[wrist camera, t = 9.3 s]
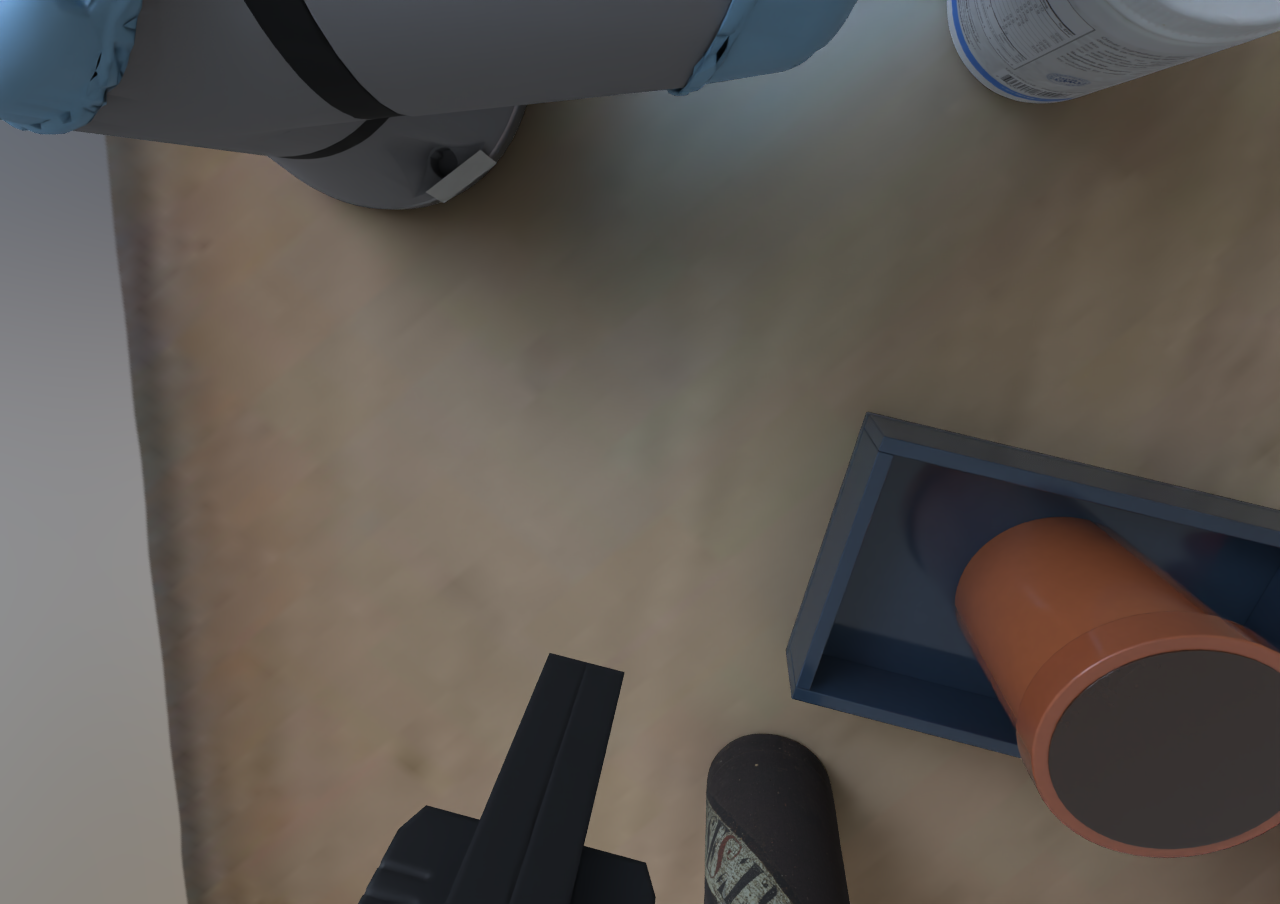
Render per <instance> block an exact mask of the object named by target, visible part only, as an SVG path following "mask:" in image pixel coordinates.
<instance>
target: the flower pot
mask: <svg viewBox="0 0 1280 904" xmlns="http://www.w3.org/2000/svg"><path fill="white" fill-rule="evenodd" d="M955 612H956V619H957V622H958V625H959V628H960V630H961V632H962V634H963V636H964V638H965V640H966V642H967V644H968V645H969V647H970V649H971V651H972V653H973V654H974V656H975V658H976V660H977V662H978V664H979V665H980V667H981V669H982V671H983V673H984V674H985V676H986V678H987V680H988V682H989V683H990V685H991V687H992V689H993V691H994V692H995V694H996V696H997V698H998V700H999V701H1000V703H1001V705H1002V707H1003V709H1004V710H1005V712H1006V714H1007V716H1008V718H1009V719H1010V721H1011V723H1012V725H1013V727H1014V729H1015V730H1016V737H1017V745H1018V749H1019V753H1020V756H1021V759H1022V761H1023V763H1024V765H1025V767H1026V769H1027V771H1028V773H1029V775H1030V777H1031V779H1032V781H1033V783H1034V785H1035V786H1036V788H1037V790H1038V792H1039V794H1040V796H1041V798H1042V800H1043V801H1044V802H1045V804H1046V805H1047V807H1048V808H1049V809H1050V811H1051V812H1052V813H1053V814H1054V815H1055V816H1056V817H1057V818H1058V819H1059V820H1060V821H1061V822H1062V823H1063V824H1064V825H1066V826H1067V827H1068V828H1070V829H1071V830H1072V831H1073V832H1075V833H1076V834H1078V835H1080V836H1082V837H1083V838H1085V839H1087V840H1088V841H1091V842H1093V843H1095V844H1097V845H1100V846H1102V847H1105V848H1108V849H1111V850H1114V851H1117V852H1121V853H1126V854H1131V855H1136V856H1145V857H1154V858H1176V857H1189V856H1196V855H1202V854H1208V853H1212V852H1216V851H1220V850H1224V849H1228V848H1231V847H1233V846H1236V845H1239V844H1242V843H1244V842H1247V841H1249V840H1251V839H1253V838H1255V837H1257V836H1259V835H1261V834H1263V833H1265V832H1267V831H1268V830H1270V829H1272V828H1273V827H1275V826H1277V825H1278V824H1280V650H1279V649H1277V648H1276V647H1275V646H1274V645H1272V644H1271V643H1270V642H1268V641H1267V640H1266V639H1265V638H1263V637H1262V636H1260V635H1259V634H1257V633H1255V632H1254V631H1252V630H1251V629H1249V628H1247V627H1244V626H1242V625H1240V624H1238V623H1235V622H1233V621H1230V620H1227V619H1224V618H1222V617H1221V616H1219V615H1218V614H1217V613H1216V612H1214V611H1213V610H1212V609H1211V608H1210V607H1208V606H1207V605H1206V604H1205V603H1203V602H1202V601H1201V600H1200V599H1199V598H1197V597H1196V596H1195V595H1194V594H1192V593H1191V592H1190V591H1189V590H1187V589H1186V588H1185V587H1184V586H1183V585H1181V584H1180V583H1179V582H1178V581H1176V580H1175V579H1174V578H1173V577H1172V576H1170V575H1169V574H1168V573H1167V572H1165V571H1164V570H1163V569H1162V568H1160V567H1159V566H1158V565H1157V564H1156V563H1154V562H1153V561H1152V560H1151V559H1149V558H1148V557H1147V556H1146V555H1145V554H1143V553H1142V552H1141V551H1140V550H1138V549H1137V548H1136V547H1135V546H1133V545H1132V544H1131V543H1130V542H1129V541H1127V540H1126V539H1125V538H1124V537H1122V536H1121V535H1120V534H1118V533H1117V532H1115V531H1114V530H1112V529H1110V528H1108V527H1106V526H1104V525H1102V524H1099V523H1096V522H1093V521H1090V520H1086V519H1080V518H1074V517H1048V518H1042V519H1036V520H1032V521H1028V522H1025V523H1022V524H1019V525H1017V526H1014V527H1012V528H1009V529H1008V530H1006V531H1004V532H1002V533H1000V534H998V535H997V536H996V537H994V538H993V539H991V540H990V541H988V542H987V543H986V544H985V545H984V546H983V547H982V548H980V549H979V550H978V552H977V553H976V554H975V555H974V556H973V557H972V558H971V560H970V561H969V563H968V564H967V566H966V567H965V569H964V571H963V573H962V575H961V577H960V580H959V583H958V586H957V590H956V596H955Z"/></svg>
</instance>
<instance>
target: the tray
mask: <svg viewBox="0 0 1280 904" xmlns="http://www.w3.org/2000/svg"><path fill="white" fill-rule="evenodd" d="M1048 517H1074V518H1080V519H1086V520H1090V521H1093V522H1096V523H1099V524H1102V525H1104V526H1106V527H1108V528H1110V529H1112V530H1114V531H1115V532H1117V533H1118V534H1120V535H1121V536H1122V537H1124V538H1125V539H1126V540H1127V541H1129V542H1130V543H1131V544H1132V545H1133V546H1135V547H1136V548H1137V549H1138V550H1140V551H1141V552H1142V553H1143V554H1145V555H1146V556H1147V557H1148V558H1149V559H1151V560H1152V561H1153V562H1154V563H1156V564H1157V565H1158V566H1159V567H1160V568H1162V569H1163V570H1164V571H1165V572H1167V573H1168V574H1169V575H1170V576H1172V577H1173V578H1174V579H1175V580H1176V581H1178V582H1179V583H1180V584H1181V585H1183V586H1184V587H1185V588H1186V589H1187V590H1189V591H1190V592H1191V593H1192V594H1194V595H1195V596H1196V597H1197V598H1199V599H1200V600H1201V601H1202V602H1203V603H1205V604H1206V605H1207V606H1208V607H1210V608H1211V609H1212V610H1213V611H1214V612H1216V613H1217V614H1218V615H1219V616H1221V617H1222V618H1224V619H1227V620H1230V621H1233V622H1235V623H1238V624H1240V625H1242V626H1244V627H1247V628H1249V629H1251V630H1252V631H1254V632H1255V633H1257V634H1259V635H1260V636H1262V637H1263V638H1265V639H1266V640H1267V641H1268V642H1270V643H1271V644H1272V645H1274V646H1275V647H1276V648H1277V649H1279V650H1280V510H1277V509H1273V508H1268V507H1264V506H1260V505H1256V504H1252V503H1247V502H1243V501H1239V500H1235V499H1231V498H1227V497H1222V496H1218V495H1214V494H1210V493H1206V492H1202V491H1197V490H1193V489H1189V488H1185V487H1181V486H1176V485H1172V484H1168V483H1164V482H1160V481H1156V480H1151V479H1147V478H1143V477H1139V476H1135V475H1130V474H1126V473H1122V472H1118V471H1114V470H1110V469H1105V468H1101V467H1097V466H1093V465H1089V464H1085V463H1080V462H1076V461H1072V460H1068V459H1064V458H1059V457H1055V456H1051V455H1047V454H1043V453H1039V452H1034V451H1030V450H1026V449H1022V448H1018V447H1014V446H1009V445H1005V444H1001V443H997V442H993V441H988V440H984V439H980V438H976V437H972V436H968V435H963V434H959V433H955V432H951V431H947V430H942V429H938V428H934V427H930V426H926V425H922V424H917V423H913V422H909V421H905V420H901V419H897V418H892V417H888V416H884V415H880V414H876V413H871V412H866V415H865V418H864V421H863V424H862V426H861V429H860V432H859V435H858V438H857V441H856V444H855V447H854V450H853V453H852V456H851V459H850V462H849V465H848V468H847V471H846V474H845V477H844V480H843V483H842V485H841V488H840V491H839V494H838V497H837V500H836V503H835V506H834V509H833V512H832V515H831V518H830V521H829V524H828V527H827V530H826V533H825V536H824V539H823V542H822V545H821V547H820V550H819V553H818V556H817V559H816V562H815V565H814V568H813V571H812V574H811V577H810V580H809V583H808V586H807V589H806V592H805V595H804V598H803V601H802V604H801V606H800V609H799V612H798V615H797V618H796V621H795V624H794V627H793V630H792V633H791V636H790V639H789V642H788V645H787V648H786V655H787V656H786V657H787V665H788V673H789V681H790V689H791V697H792V699H795V700H799V701H803V702H807V703H811V704H815V705H818V706H822V707H826V708H830V709H834V710H838V711H841V712H845V713H849V714H853V715H857V716H861V717H864V718H868V719H872V720H876V721H880V722H884V723H888V724H891V725H895V726H899V727H903V728H907V729H911V730H914V731H918V732H922V733H926V734H930V735H934V736H937V737H941V738H945V739H949V740H953V741H957V742H960V743H964V744H968V745H972V746H976V747H980V748H983V749H987V750H991V751H995V752H999V753H1003V754H1006V755H1010V756H1014V757H1018V758H1021V756H1020V753H1019V749H1018V745H1017V737H1016V730H1015V729H1014V727H1013V725H1012V723H1011V721H1010V719H1009V718H1008V716H1007V714H1006V712H1005V710H1004V709H1003V707H1002V705H1001V703H1000V701H999V700H998V698H997V696H996V694H995V692H994V691H993V689H992V687H991V685H990V683H989V682H988V680H987V678H986V676H985V674H984V673H983V671H982V669H981V667H980V665H979V664H978V662H977V660H976V658H975V656H974V654H973V653H972V651H971V649H970V647H969V645H968V644H967V642H966V640H965V638H964V636H963V634H962V632H961V630H960V628H959V625H958V622H957V619H956V612H955V596H956V590H957V586H958V583H959V580H960V577H961V575H962V573H963V571H964V569H965V567H966V566H967V564H968V563H969V561H970V560H971V558H972V557H973V556H974V555H975V554H976V553H977V552H978V550H979V549H980V548H982V547H983V546H984V545H985V544H986V543H987V542H988V541H990V540H991V539H993V538H994V537H996V536H997V535H998V534H1000V533H1002V532H1004V531H1006V530H1008V529H1009V528H1012V527H1014V526H1017V525H1019V524H1022V523H1025V522H1028V521H1032V520H1036V519H1042V518H1048Z"/></svg>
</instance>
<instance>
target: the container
mask: <svg viewBox="0 0 1280 904" xmlns="http://www.w3.org/2000/svg"><path fill="white" fill-rule="evenodd" d="M704 904H850V901H849V895H848V889H847V882H846V876H845V869H844V863H843V857H842V851H841V845H840V838H839V831H838V824H837V818H836V811H835V804H834V799H833V793H832V788H831V784H830V780H829V777H828V774H827V772H826V770H825V769H824V767H823V765H822V764H821V762H820V761H819V760H818V758H817V757H816V756H815V755H814V754H813V753H812V752H810V751H809V750H808V749H807V748H805V747H804V746H802V745H800V744H799V743H797V742H795V741H793V740H790V739H788V738H785V737H781V736H777V735H770V734H752V735H747V736H743V737H740V738H738V739H736V740H734V741H732V742H730V743H729V744H727V745H726V746H725V747H724V748H723V749H722V750H721V751H720V752H719V753H718V754H717V755H716V757H715V758H714V760H713V762H712V764H711V767H710V769H709V773H708V778H707V792H706V836H705V897H704Z"/></svg>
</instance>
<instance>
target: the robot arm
mask: <svg viewBox="0 0 1280 904" xmlns="http://www.w3.org/2000/svg"><path fill="white" fill-rule="evenodd" d="M856 2H857V0H0V120H4V121H5V122H7V123H8V124H10V125H11V126H13V127H15V128H17V129H20V130H30V131H32V132H34V133H38V134H65V133H67V132H70V131H80V132H87V133H95V134H103V135H110V136H118V137H126V138H133V139H141V140H149V141H156V142H164V143H172V144H180V145H187V146H195V147H203V148H210V149H218V150H226V151H233V152H241V153H249V154H256V155H265V156H268V157H269V158H271V159H272V160H273V161H275V162H276V163H278V164H279V165H280V166H282V167H283V168H284V169H286V170H287V171H288V172H290V173H291V174H293V175H294V176H295V177H297V178H298V179H300V180H301V181H303V182H304V183H306V184H307V185H309V186H311V187H313V188H314V189H316V190H318V191H320V192H322V193H325V194H326V195H328V196H331V197H333V198H336V199H338V200H341V201H343V202H346V203H350V204H353V205H357V206H362V207H368V208H377V209H415V208H421V207H427V206H430V205H434V204H438V203H441V202H443V203H445V202H446V201H448V200H449V199H451V198H453V197H455V196H456V195H458V194H460V193H462V192H464V191H465V190H467V189H468V188H470V187H471V186H473V185H474V184H475V183H476V182H478V181H479V180H480V179H481V178H482V177H484V176H485V175H486V174H487V173H488V172H489V171H490V169H491V168H492V167H493V166H494V165H495V164H496V163H497V162H498V160H499V159H500V158H501V156H502V155H503V154H504V152H505V151H506V149H507V147H508V146H509V144H510V143H511V141H512V139H513V137H514V135H515V133H516V131H517V129H518V127H519V125H520V122H521V120H522V117H523V114H524V112H525V108H526V105H527V104H536V103H545V102H555V101H564V100H573V99H583V98H592V97H602V96H611V95H620V94H630V93H639V92H649V91H658V90H667V91H668V92H669V93H670V94H672V95H674V96H685V95H688V93H690V92H693V91H698V90H699V89H701V88H702V87H703V86H704V85H705V84H709V83H715V82H722V81H728V80H734V79H741V78H747V77H753V76H760V75H766V74H772V73H778V72H783V71H786V70H789V69H792V68H794V67H796V66H798V65H800V64H801V63H803V62H805V61H806V60H807V59H808V58H809V57H811V56H812V55H813V54H814V53H815V52H816V51H817V50H819V49H821V48H823V47H824V46H826V45H827V44H828V43H829V42H830V41H831V40H832V39H833V37H834V36H835V35H836V34H837V32H838V31H839V30H840V28H841V27H842V25H843V24H844V22H845V21H846V19H847V18H848V16H849V14H850V12H851V11H852V9H853V7H854V5H855V4H856ZM623 677H624V672H622V671H618V670H614V669H610V668H606V667H602V666H598V665H594V664H590V663H587V662H583V661H579V660H575V659H571V658H567V657H563V656H559V655H556V654H552V653H549V656H548V658H547V660H546V663H545V665H544V668H543V670H542V672H541V675H540V677H539V680H538V682H537V684H536V687H535V689H534V692H533V694H532V696H531V699H530V701H529V704H528V706H527V708H526V711H525V713H524V716H523V718H522V720H521V723H520V725H519V728H518V730H517V732H516V735H515V737H514V740H513V742H512V744H511V747H510V749H509V751H508V754H507V756H506V759H505V761H504V763H503V766H502V768H501V771H500V773H499V775H498V778H497V780H496V783H495V785H494V787H493V790H492V792H491V795H490V797H489V799H488V802H487V804H486V807H485V809H484V811H483V814H482V816H481V819H480V820H479V819H475V818H471V817H467V816H464V815H460V814H456V813H453V812H449V811H445V810H442V809H438V808H434V807H431V806H427V805H426V806H425V807H424V808H423V809H421V810H420V811H419V812H418V813H417V814H416V815H414V816H413V817H412V818H411V819H410V820H409V821H408V822H406V823H405V824H404V825H403V826H402V827H401V828H399V829H398V831H397V833H396V835H395V837H394V839H393V840H392V842H391V844H390V846H389V848H388V850H387V852H386V853H385V855H384V857H383V859H382V861H381V864H380V866H379V868H377V870H376V872H375V874H374V875H373V877H372V879H371V881H370V883H369V885H368V886H367V889H366V892H365V894H364V895H363V896H362V897H361V899H360V901H359V903H358V904H655V898H656V897H655V893H654V890H653V886H652V883H651V879H650V876H649V872H648V868H647V865H646V863H645V862H641V861H638V860H634V859H630V858H626V857H623V856H619V855H615V854H612V853H608V852H604V851H601V850H597V849H593V848H590V847H586V846H584V842H585V838H586V834H587V829H588V825H589V821H590V817H591V812H592V808H593V804H594V800H595V795H596V791H597V787H598V783H599V778H600V774H601V770H602V766H603V761H604V757H605V753H606V749H607V744H608V740H609V736H610V732H611V727H612V723H613V719H614V715H615V711H616V706H617V702H618V698H619V694H620V689H621V685H622V681H623Z"/></svg>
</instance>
